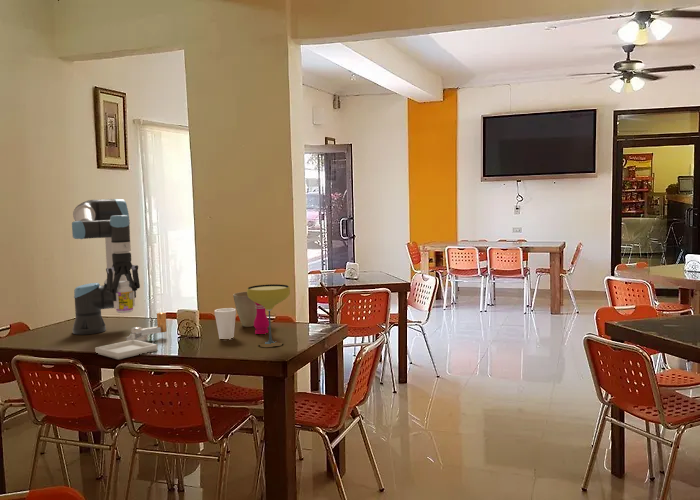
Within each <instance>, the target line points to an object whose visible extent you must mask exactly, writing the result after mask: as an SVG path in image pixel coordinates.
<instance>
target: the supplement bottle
mask: <svg viewBox="0 0 700 500" xmlns="http://www.w3.org/2000/svg"><path fill="white" fill-rule="evenodd" d="M116 293H118V297H119V309H115V310H116V313H118V314H130V313H132V312H133V310H134V306H133V297H132V288H131V287H129V281H119V284H118V288H117V292H116Z"/></svg>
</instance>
